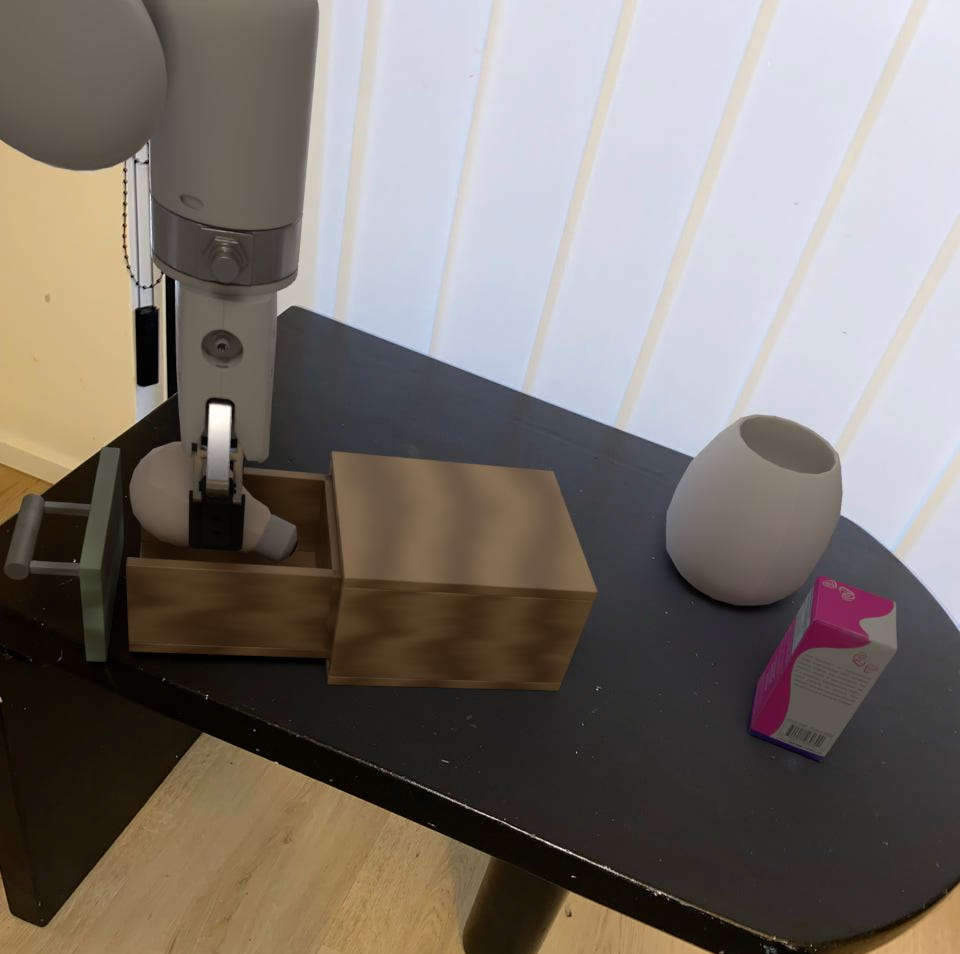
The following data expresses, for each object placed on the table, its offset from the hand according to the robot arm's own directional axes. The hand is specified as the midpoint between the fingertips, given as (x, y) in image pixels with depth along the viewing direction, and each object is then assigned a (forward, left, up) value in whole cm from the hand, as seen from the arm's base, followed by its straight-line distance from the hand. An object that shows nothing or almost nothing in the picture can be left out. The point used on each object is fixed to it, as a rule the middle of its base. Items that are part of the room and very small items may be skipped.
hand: (217, 509), depth 63 cm
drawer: (-1, -2, -8) cm, 8 cm away
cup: (+20, +39, -9) cm, 44 cm away
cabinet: (+10, +13, -9) cm, 18 cm away
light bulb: (0, -1, -2) cm, 3 cm away
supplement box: (+33, +28, -9) cm, 44 cm away
